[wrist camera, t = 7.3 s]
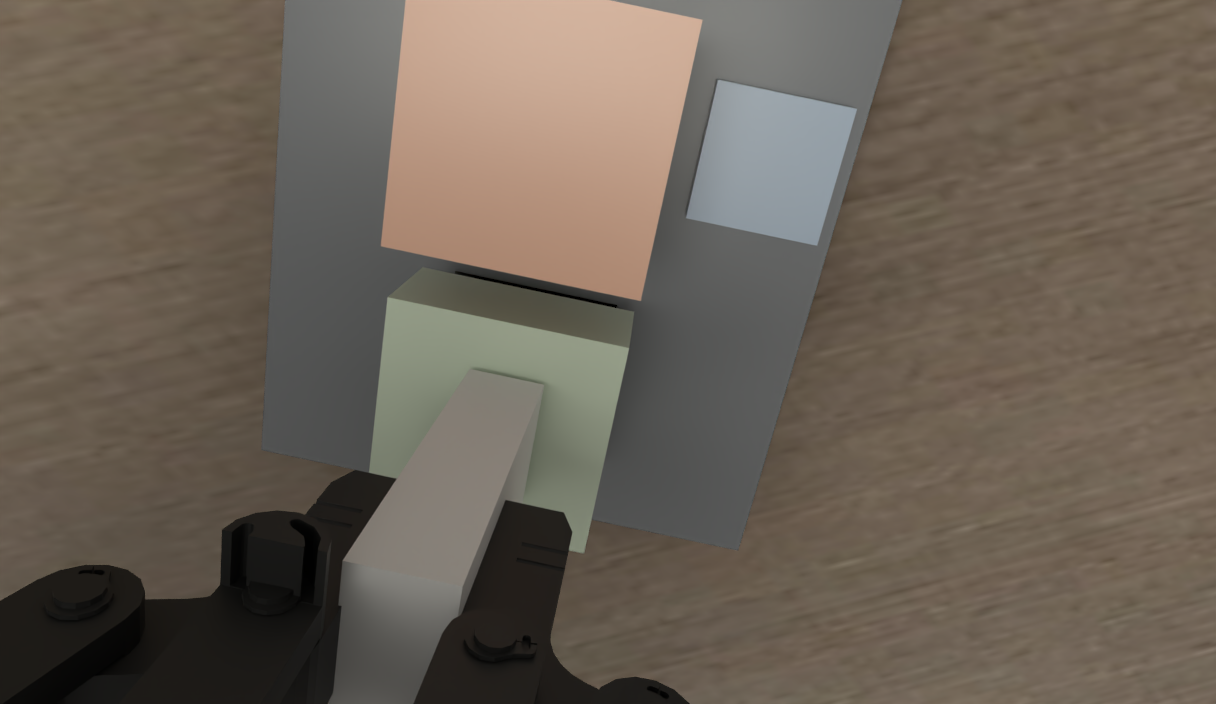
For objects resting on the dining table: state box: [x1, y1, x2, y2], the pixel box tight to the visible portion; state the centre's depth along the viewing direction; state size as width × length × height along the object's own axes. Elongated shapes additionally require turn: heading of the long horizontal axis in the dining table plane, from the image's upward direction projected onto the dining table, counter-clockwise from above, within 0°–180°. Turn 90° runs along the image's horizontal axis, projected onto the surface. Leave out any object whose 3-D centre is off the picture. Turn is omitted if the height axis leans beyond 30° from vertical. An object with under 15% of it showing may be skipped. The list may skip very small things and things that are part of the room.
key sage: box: [369, 267, 634, 553], centre depth 19 cm, size 5×5×5 cm
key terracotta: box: [381, 0, 703, 301], centre depth 16 cm, size 5×5×5 cm
